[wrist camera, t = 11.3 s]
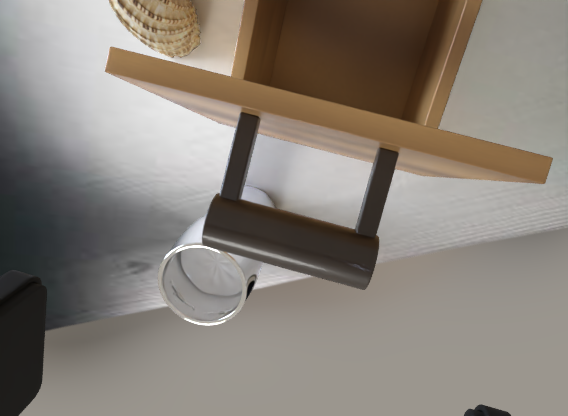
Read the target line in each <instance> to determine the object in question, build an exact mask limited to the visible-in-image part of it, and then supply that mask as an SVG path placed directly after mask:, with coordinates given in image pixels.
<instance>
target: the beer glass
mask: <svg viewBox="0 0 568 416" xmlns="http://www.w3.org/2000/svg"><path fill="white" fill-rule="evenodd" d="M241 199H243V200H247V201H250V202H254V203H258V204H262V205H265V206H269V207H273V208H275V205H274V203H273V201H272V200H271V198H270V197H269V196H268V195H267V194H266V193H265V192H263V191H262V190H260V189H258V188H255V187H251V186H244V189H243V193H242V197H241ZM206 215H207V214H206ZM206 215H204V216H202V217H201V218H199V219H198V220H196V221H195V222H194V223H192V224H191V225H190V226H189V227H188V228H187V229H186V230H185V231H184V232H183V234H182V235H181V236H180V237H179V238H178V240H177V241H176V242H175V244H174V245H173V247H172V248H171V250H170V251H169V253H168V254H167V255H166V256H165V258H164V259H163V261H162V263H161V265H160V268H159V271H158V286H159V290H160V293H161V295H162V297H163V299H164V301H165V302H166V304H167V305H168V306H169V307H170V309H171V310H173V311H174V312H175V313H176V314H177V315H179V316H180V317H182V318H183V319H185V320H187V321H190V322H192V323H196V324H200V325H216V324H221V323H224V322H226V321H228V320H230V319H231V318H233V317H234V316H235V315H236V314H237V313H238V312H239V311H240V310H241V308H242V307H243V305H244V303H245V301H246V299H247V298H248V296H249V294H250V292H251V291H252V289H253V288H254V286H255V283H256V281H257V279H258V277H259V274H260V271H261V269H262V265H263V262H260V261H256V260H253V259H249V258H246V257H242V256H238V255H235V254H231V253H227V252H224V251H220V250H216V249H213V248H209V247H206V246H204V245H203V244H202V232H203V226H204V222H205V218H206Z"/></svg>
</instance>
